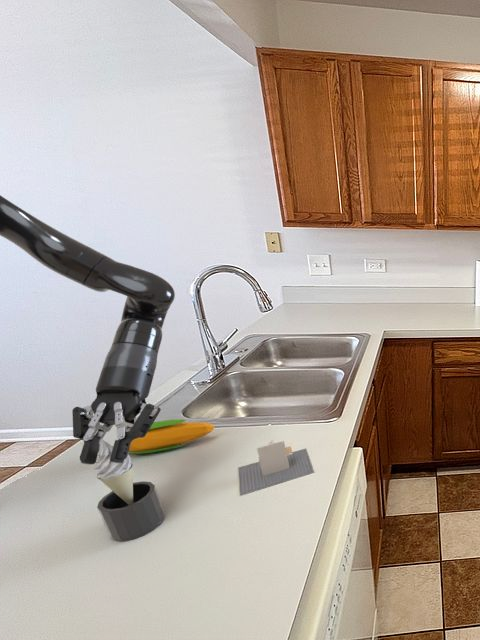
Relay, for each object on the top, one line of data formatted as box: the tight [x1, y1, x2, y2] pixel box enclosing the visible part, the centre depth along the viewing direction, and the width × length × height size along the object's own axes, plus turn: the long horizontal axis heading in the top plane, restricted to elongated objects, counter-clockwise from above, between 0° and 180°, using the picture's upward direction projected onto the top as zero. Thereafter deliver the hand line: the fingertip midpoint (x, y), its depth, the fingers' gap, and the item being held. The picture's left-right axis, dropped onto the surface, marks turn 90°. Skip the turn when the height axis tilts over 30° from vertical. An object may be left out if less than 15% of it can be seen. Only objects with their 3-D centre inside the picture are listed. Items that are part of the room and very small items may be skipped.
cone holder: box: [97, 481, 166, 542], centre depth 75 cm, size 8×8×7 cm
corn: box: [128, 419, 215, 454], centre depth 100 cm, size 7×8×20 cm
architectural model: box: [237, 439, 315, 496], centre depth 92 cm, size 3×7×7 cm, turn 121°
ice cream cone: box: [93, 438, 134, 505], centre depth 72 cm, size 5×5×15 cm
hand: (102, 462), depth 69 cm, fingers closed on ice cream cone, 4 cm apart
